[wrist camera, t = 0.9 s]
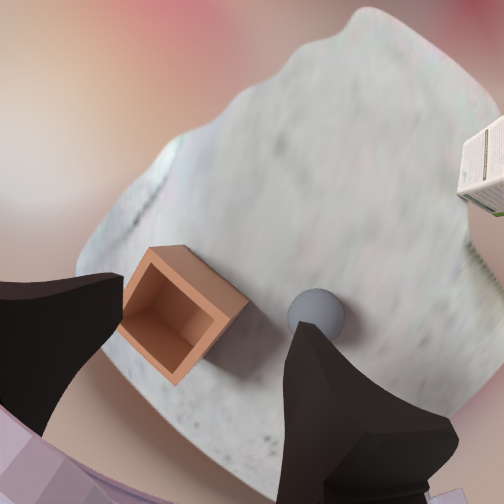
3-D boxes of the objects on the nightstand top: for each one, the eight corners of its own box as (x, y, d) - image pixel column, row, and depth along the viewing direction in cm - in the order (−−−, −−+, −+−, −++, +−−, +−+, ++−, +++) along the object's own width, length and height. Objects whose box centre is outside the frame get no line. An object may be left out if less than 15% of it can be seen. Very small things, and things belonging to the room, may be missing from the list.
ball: (352, 305, 23) (360, 320, 18) (318, 343, 23) (319, 365, 19) (312, 273, 23) (312, 282, 19) (279, 313, 24) (272, 329, 20)
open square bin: (250, 300, 24) (230, 319, 19) (202, 358, 26) (175, 386, 20) (183, 244, 26) (148, 247, 20) (144, 306, 27) (108, 320, 21)
